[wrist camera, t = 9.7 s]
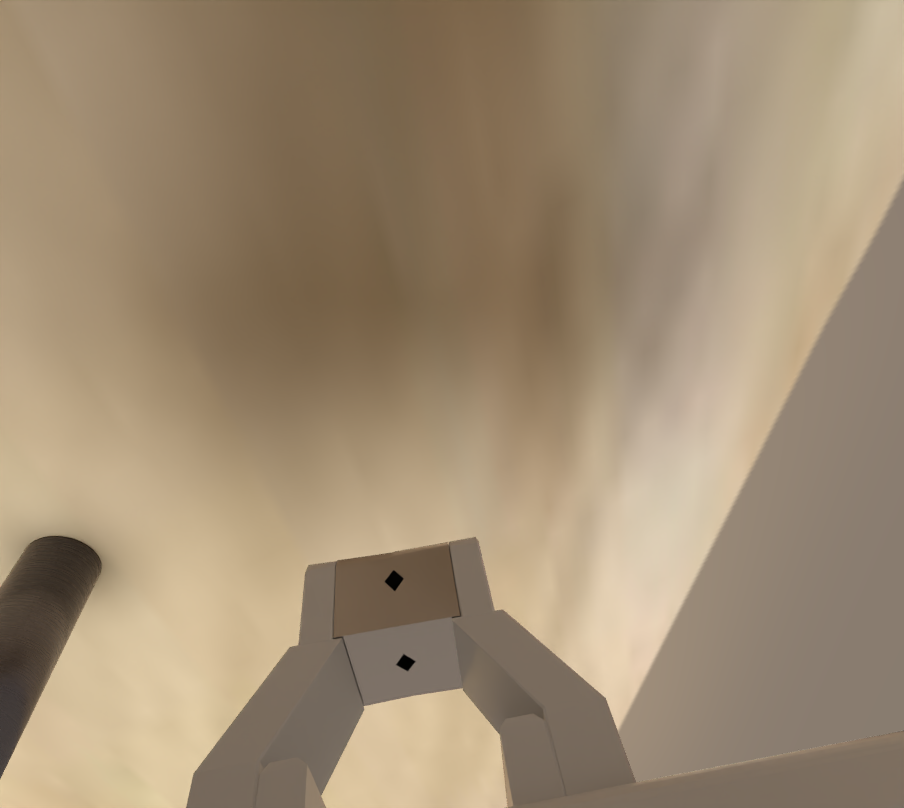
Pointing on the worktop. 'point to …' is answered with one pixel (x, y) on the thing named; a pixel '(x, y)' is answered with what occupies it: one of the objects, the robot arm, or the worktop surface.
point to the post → (38, 625)
